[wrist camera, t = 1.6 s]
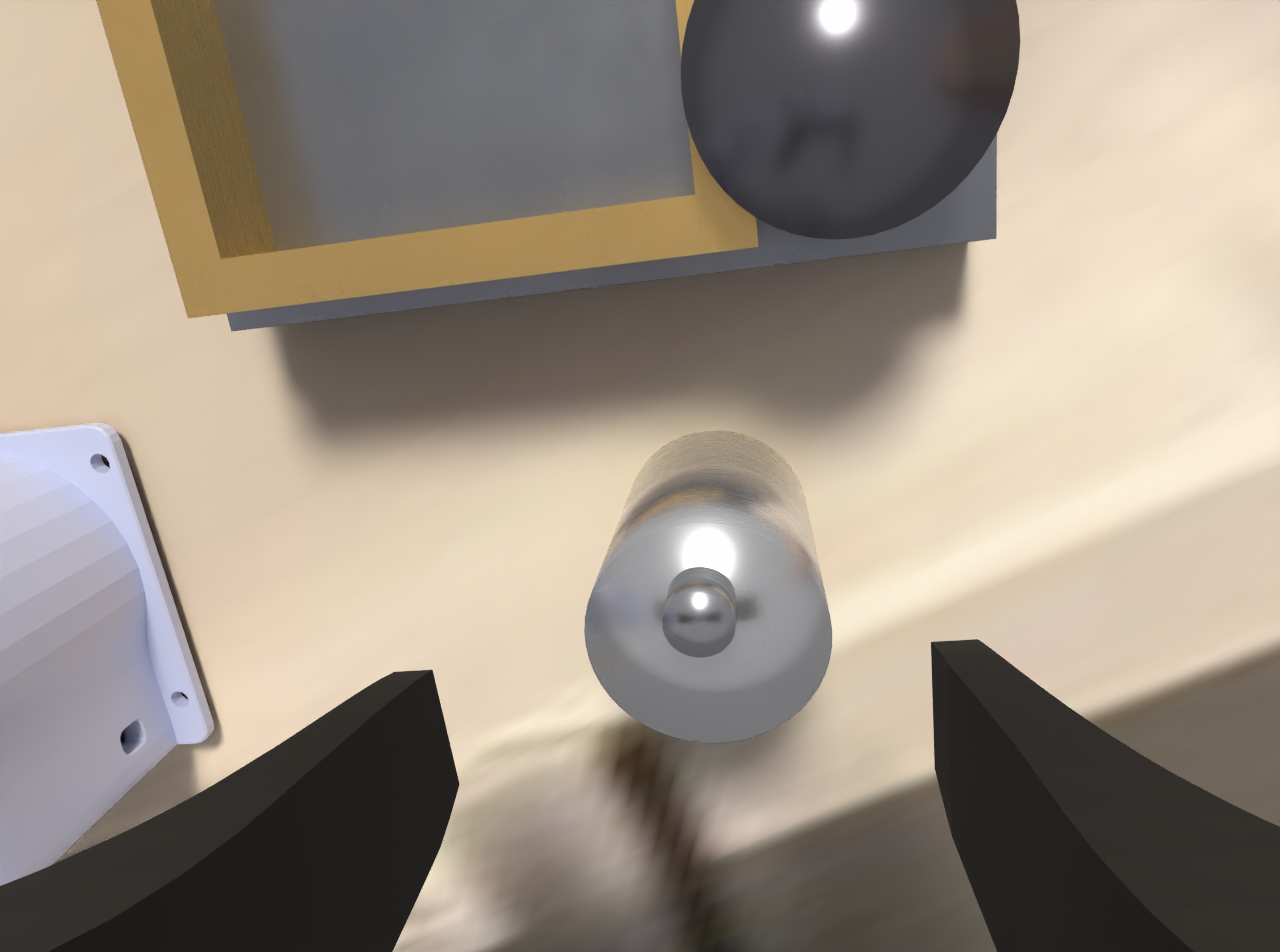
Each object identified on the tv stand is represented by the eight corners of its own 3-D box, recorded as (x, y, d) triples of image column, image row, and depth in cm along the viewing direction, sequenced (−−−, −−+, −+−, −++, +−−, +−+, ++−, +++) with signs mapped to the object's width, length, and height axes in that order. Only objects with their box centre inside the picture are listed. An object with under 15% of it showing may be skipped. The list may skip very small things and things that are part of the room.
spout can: (812, 592, 21) (845, 774, 14) (640, 602, 21) (593, 781, 15) (800, 422, 19) (830, 536, 13) (616, 439, 20) (555, 556, 13)
